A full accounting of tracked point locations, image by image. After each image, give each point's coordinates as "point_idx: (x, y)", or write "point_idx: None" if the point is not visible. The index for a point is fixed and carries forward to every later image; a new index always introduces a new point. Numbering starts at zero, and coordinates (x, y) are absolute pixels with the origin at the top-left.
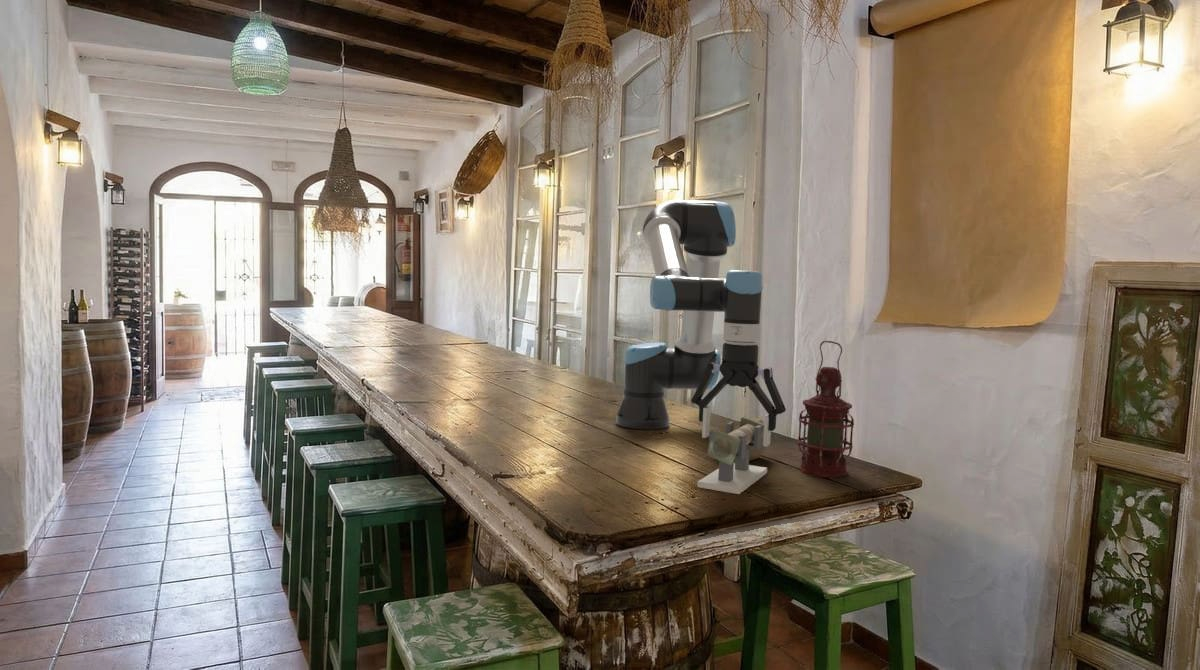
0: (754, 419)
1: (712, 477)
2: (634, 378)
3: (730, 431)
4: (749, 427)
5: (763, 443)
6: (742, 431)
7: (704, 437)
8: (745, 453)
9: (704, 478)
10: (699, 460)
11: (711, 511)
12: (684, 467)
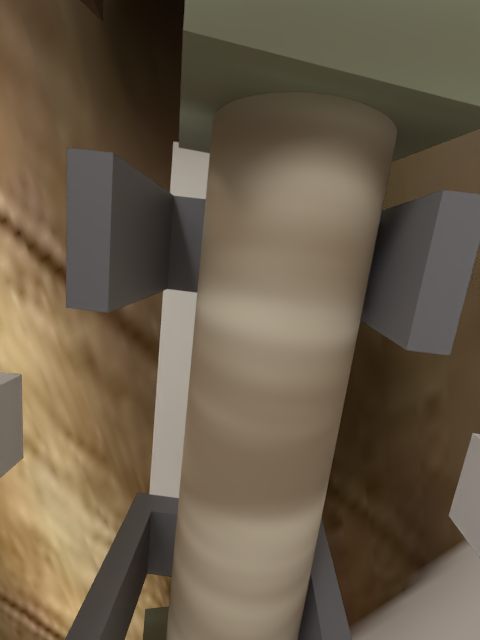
0: None
1: (180, 446)
2: None
3: (141, 268)
4: (333, 283)
5: (463, 530)
6: (295, 509)
7: (16, 460)
8: (326, 540)
9: (157, 471)
10: (22, 88)
11: None
12: (16, 259)
